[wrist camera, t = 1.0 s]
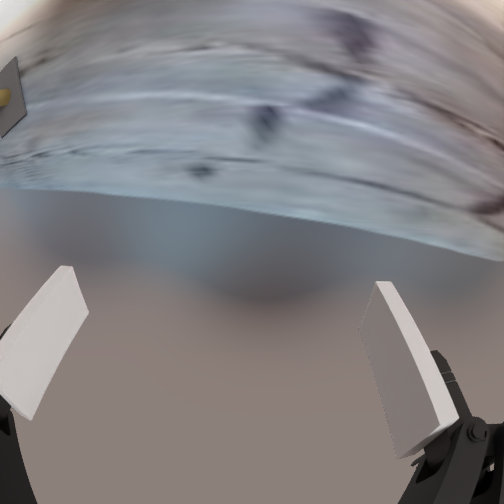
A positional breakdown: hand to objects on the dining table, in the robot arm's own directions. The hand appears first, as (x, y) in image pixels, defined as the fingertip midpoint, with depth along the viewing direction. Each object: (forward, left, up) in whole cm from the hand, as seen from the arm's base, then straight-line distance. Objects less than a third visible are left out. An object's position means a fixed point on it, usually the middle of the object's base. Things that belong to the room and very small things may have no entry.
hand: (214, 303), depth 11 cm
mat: (-27, -33, -25) cm, 50 cm away
